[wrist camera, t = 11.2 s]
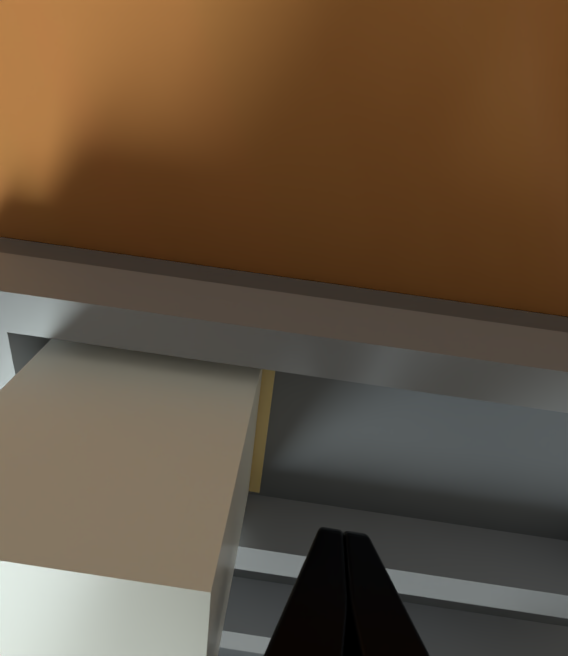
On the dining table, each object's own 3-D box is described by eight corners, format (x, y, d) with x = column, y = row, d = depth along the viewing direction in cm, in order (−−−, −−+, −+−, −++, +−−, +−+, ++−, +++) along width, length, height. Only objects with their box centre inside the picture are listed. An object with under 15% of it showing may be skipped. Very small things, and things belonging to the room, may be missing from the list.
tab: (264, 351, 10) (210, 591, 5) (248, 492, 12) (199, 751, 7) (66, 323, 10) (-149, 538, 5) (84, 467, 12) (-63, 711, 7)
